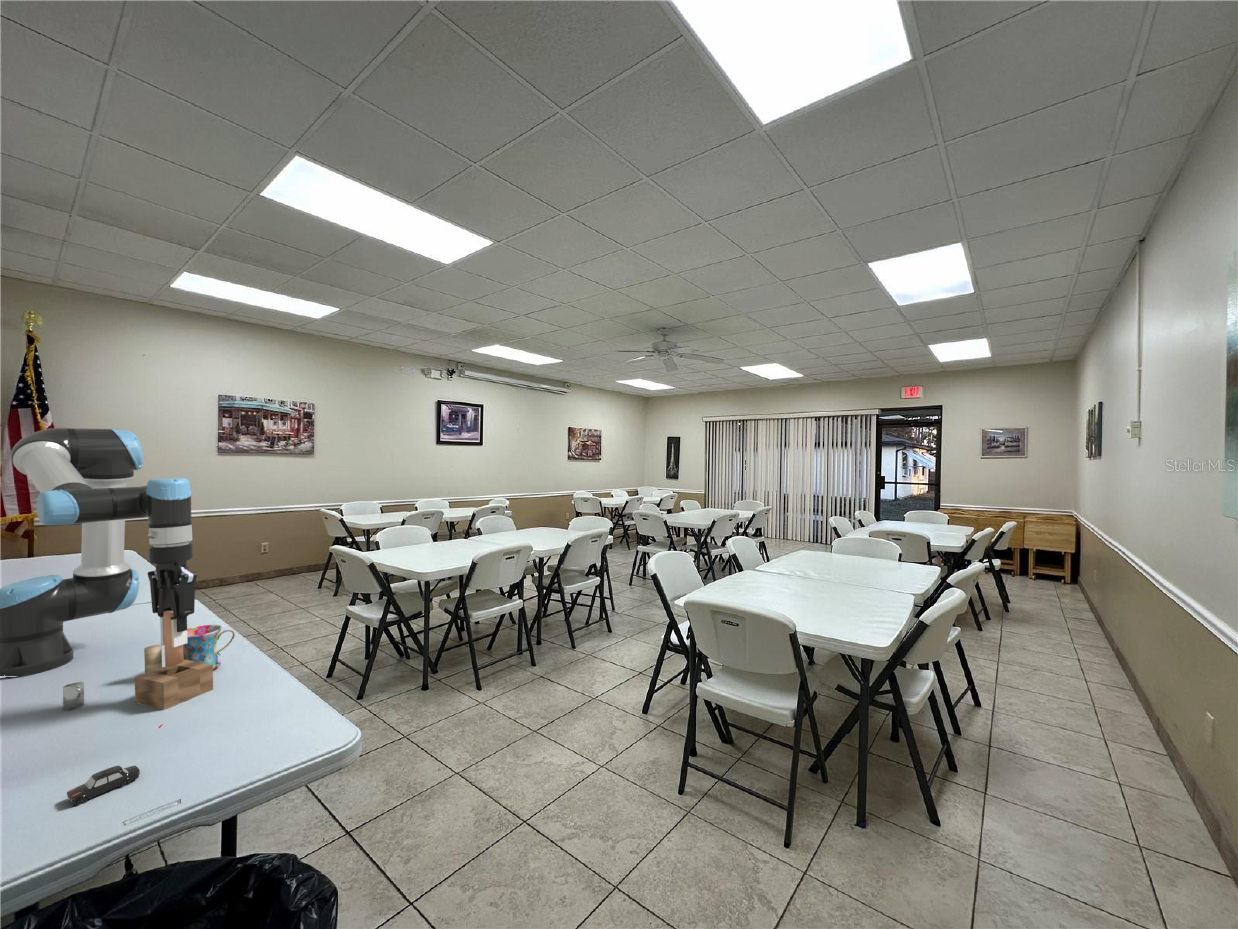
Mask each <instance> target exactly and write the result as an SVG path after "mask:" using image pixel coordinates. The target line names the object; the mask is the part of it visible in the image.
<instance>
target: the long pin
mask: <svg viewBox="0 0 1238 929" xmlns="http://www.w3.org/2000/svg"><path fill="white" fill-rule="evenodd" d="M170 617H174V614H173V611H169V612H165V613H164V643H165V645H164V662H165V663H164V664H165V666H173V665H177V664H180V663H182V662H183V661H184V658H183V645H180V646H177V647H172V631H171V619H170ZM165 666H164V667H165Z"/></svg>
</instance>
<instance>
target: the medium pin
mask: <svg viewBox="0 0 1238 929" xmlns="http://www.w3.org/2000/svg"><path fill="white" fill-rule="evenodd" d="M162 646H163V645H161V644H154V645H150V646H146V647H145V648H144V649H143V651H144V653H143V654H144V655H143V658H144V674H145V673H147V672H150V671H153V670H156V669H159V668H162V667H163V654H162V650H163V649H162Z"/></svg>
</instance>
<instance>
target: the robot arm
mask: <svg viewBox="0 0 1238 929" xmlns="http://www.w3.org/2000/svg"><path fill="white" fill-rule="evenodd" d="M11 449H12V450H11V453H10V460H11V463H12V465H13V466H14V468H16V470H17V471H18V472H20V473H21V474H23V475H24V476H27V477H29V478H30V480H31V482H32V483H33V485H35V487H36V488H37V490H38V491H39V494H38V496H37V500H36V514H37V516H38V521H39V522H40V524H42V525H44V526H60V525H61V526H70V525H75V524H77V525H78V524H81V552H80V553H81V556H80V557H81V560H80V563H81V564H80V565H78V566H77V567H76V568H74V569H73V571H72V577H70V578H64V579H63V577H62V576H61V574H60V575H59V574H50V575H49V574H48V575H45V576H44V575H42V576H37V577H32V578H29V579H24V580H19V581H16V582H13V583H9V584H6V585H4V586H2V587H1V588H0V676H4V675H5V676H20V677H25V676H30V675H34V674H38V673H41V672H42V673H43V672H46V671H49V670H53V669H55V668H58V667H61V666H63V665H65V664H67V663H69V662H72V660H74V658H75V657H74V649H73V647H72V645H71V643H70V642H69V640H68V638H67V636H66V635H65V632H64V622H68V621H74V620H79V619H85V618H88V617H89V618H90V617H94V616H99V615H105V614H111V613H115V612H118V611H122V610H126V609H128V608H130V607H131V606H132V605H133V604H134V603H135V601H136V600H137V597H138V594H139V589H140V581H139V579H140V578H139V573H138V571H137V570H136V569H134V568H131V567H132V566H131V564H129V563H128V562H126V561H125V534H126V532H125V529H126V520H135V519H146V518H148V533H147V537H148V542H149V543H148V544H149V545H151V547H149V549H148V550H149V552H148V556H149V560H148V561H149V563H150V564H152V565H153V564H154V565H155V570H152V571H148V572H147V578H148V581H149V586H150V589H149V590H150V600H151V610H152V614H157V617H159V620H160V622H159V623H160V624H159V625H160V626H159V627H160V630H159V631H160V645H162V646H165V643H164V613H165V612H169V611H173V614H174V617H170V619H171V631H172V647H177V646H180V645H183V644H186V643H188V642H187V629H188V616H191V615H192V614H194V613H195V602H196V601H195V600H196V599H195V598H196V596H195V595H196V580H197V577H198V574H197V572H196V571H195V572H191V571H189V566H188V564H187V563H188V561H189V560H191V559H193V557H194V555H193V551H194V550H193V544H192V543H191V542H192V541H193V528H192V527H193V525H192V524H193V522H192V520H193V519H192V493H193V492H192V490H191V483H190V480H189V479H188V478H186V477H185V478H184V477H174V478H173V477H170V478H169V477H167V478H153V479H149V480H148V481H147V482H146V483H147V484H146V485H142V486H129V487H127V483H128V482H129V481H130V480H131V479H133V478H134V477H135V476H134V475H135V473H134V471H138V470H141V469H143V466H144V465H143V464H144V454H143V448H142V445H141V443H140V440H139V438H138V437H137V435H136V434H135V433H134V432H132V431H131V430H126V429H116V428H115V429H114V428H74V427H73V428H70V427H69V428H66V427H55V428H54V427H53V428H46V429H42V430H38V431H34V432H33V433H30V434H28V435H26V436H25V437H22V438H21V439H19V441H17V442H16V443H15V445H14V446H13V448H11ZM24 675H25V676H24Z"/></svg>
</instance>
